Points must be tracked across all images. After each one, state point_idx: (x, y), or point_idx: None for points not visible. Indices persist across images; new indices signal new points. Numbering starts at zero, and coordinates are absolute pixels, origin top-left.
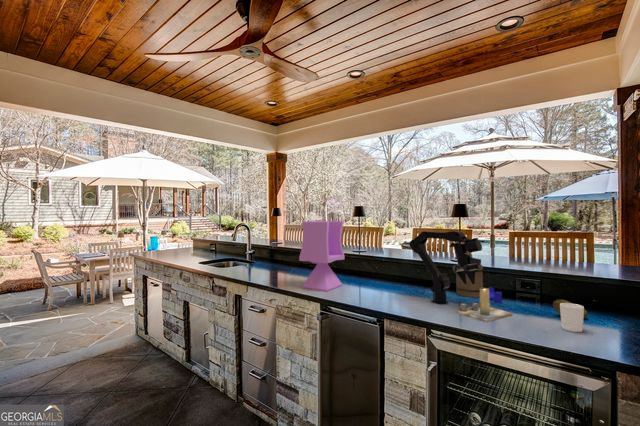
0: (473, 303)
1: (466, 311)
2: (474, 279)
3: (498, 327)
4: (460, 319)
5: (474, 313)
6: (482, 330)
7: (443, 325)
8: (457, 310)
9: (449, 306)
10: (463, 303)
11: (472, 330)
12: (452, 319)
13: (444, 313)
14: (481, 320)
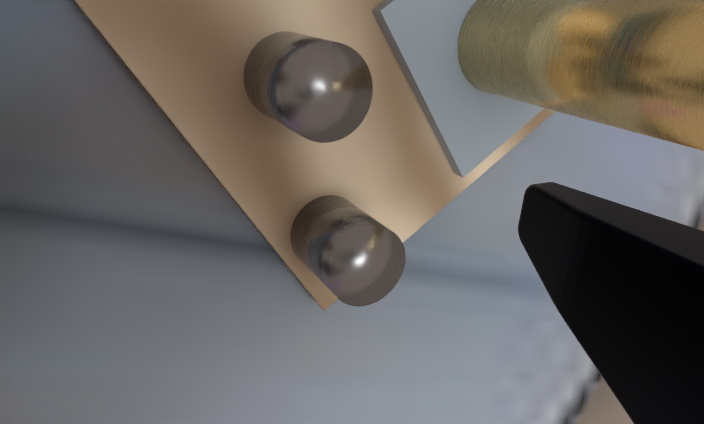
0: (357, 124)
1: (356, 203)
2: (679, 236)
3: None
4: (499, 281)
5: (469, 149)
6: (687, 173)
7: (586, 395)
8: (324, 294)
9: (39, 356)
10: (365, 264)
11: None
12: (495, 340)
13: (348, 401)
14: None
